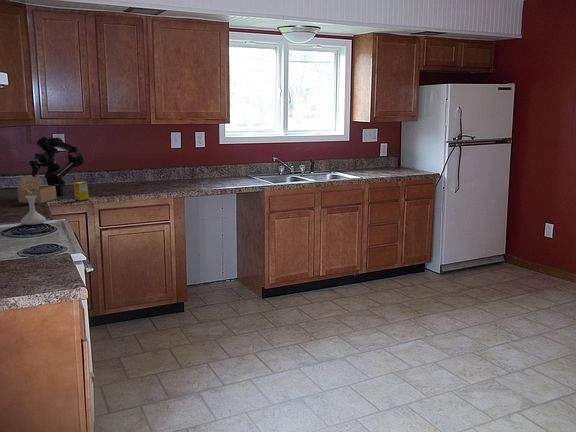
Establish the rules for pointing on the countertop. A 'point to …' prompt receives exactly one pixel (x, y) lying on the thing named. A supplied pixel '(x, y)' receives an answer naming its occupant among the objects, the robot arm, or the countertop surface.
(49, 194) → the carton
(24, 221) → the flower in vase
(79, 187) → the supplement box
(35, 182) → the carton flap
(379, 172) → the countertop surface
